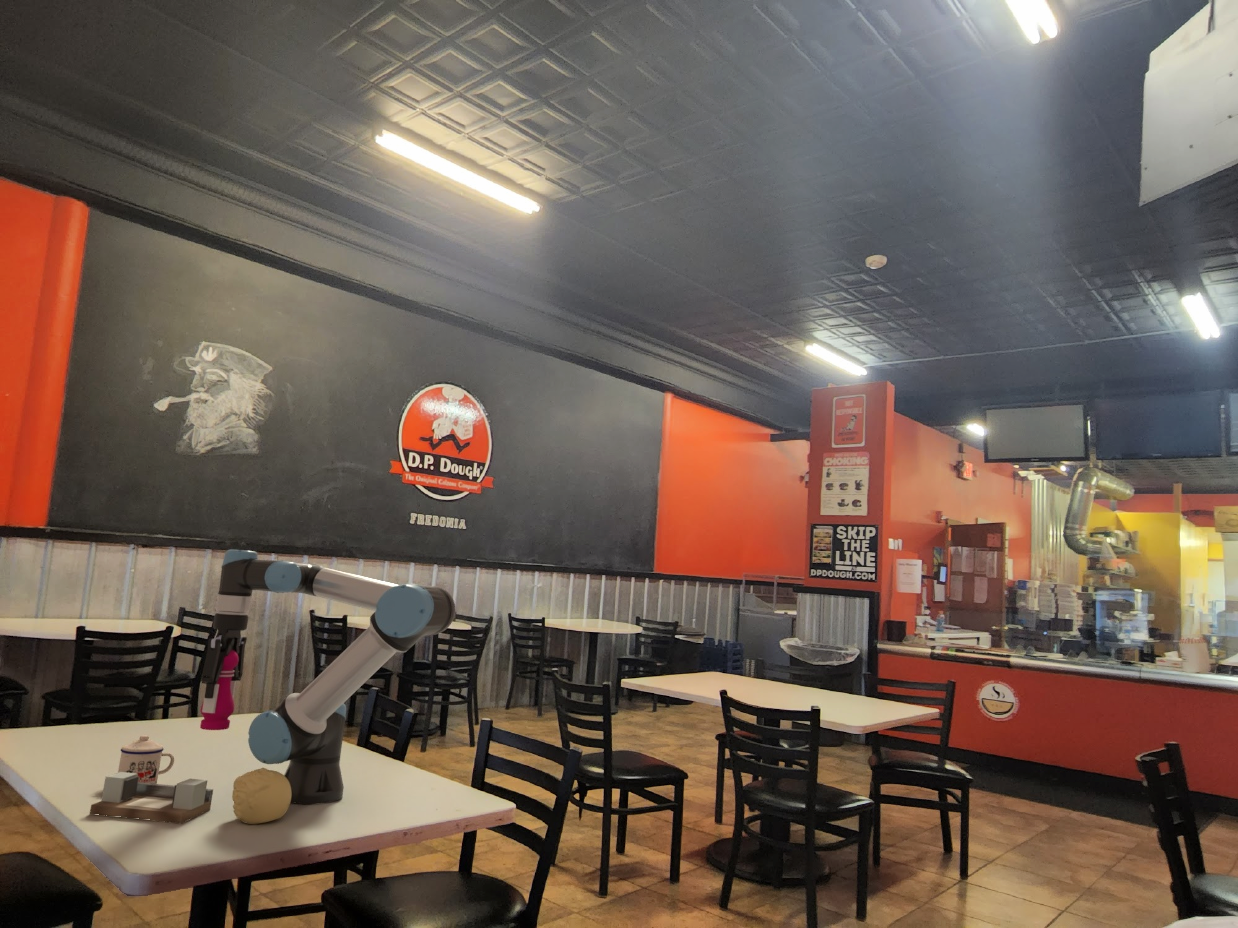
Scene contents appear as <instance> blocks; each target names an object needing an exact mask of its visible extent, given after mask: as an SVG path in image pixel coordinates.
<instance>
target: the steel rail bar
mask: <svg viewBox="0 0 1238 928" xmlns="http://www.w3.org/2000/svg"><path fill="white" fill-rule="evenodd" d="M174 789H175V785H174V784H173V785H171V784H161V783H157V784H152V783H142V782H138V784H137V790H136V795H143V796H153V797H163V798H173V795H174ZM213 793H214V788H213V789H211V788H206V793H205V800H204V802H209V801H211V802H212V799H213Z"/></svg>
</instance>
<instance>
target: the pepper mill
mask: <svg viewBox="0 0 1238 928" xmlns="http://www.w3.org/2000/svg"><path fill="white" fill-rule="evenodd" d="M238 661H239V658H238V654H237V653H236V652H235V651H233V650H230V653H229V655H228V656H226V657H225V658H224V664H223V667H222V670H221V673H220V676H219V679H218V682H217V684H219V689H218V695H217V702H216V708H215V713H205V712H202V709H203V702H204V700H203V701H202V703H201V706H200V714H201V716H202V717H203V719H201V720H200V729H201V730H207V731H222V730H223V731H224V730H228V729H229V728H230V726H231V725H230V723H231V720H230V719H229V718H230V717H231V715H232V714H233V713H234V711H235V701H234V700H233V698H232V694H231V688H230V686H231V679H232V676H234V672H235V671H234V670H233V669H234V667H235V666H236V665H237V664H238Z"/></svg>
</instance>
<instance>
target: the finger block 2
mask: <svg viewBox="0 0 1238 928" xmlns="http://www.w3.org/2000/svg"><path fill="white" fill-rule="evenodd" d="M174 786H175V789H174V795H173V801H172V805H173V808H177V809H188V810H192V809H194V808H196V807H198V806H201V805H203V804H204V800H205V793H206V789H207V786H208V779H198V778H197V779H196V778H188V779H184V780H183V781H180V782H177V783H176V784H175V785H174Z"/></svg>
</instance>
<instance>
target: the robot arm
mask: <svg viewBox="0 0 1238 928" xmlns="http://www.w3.org/2000/svg"><path fill="white" fill-rule="evenodd" d="M223 556H224V557H223V560H222V565H221V567H220V568H221V571H220V572H221V573H220V580H219V590H218V594H217V595H218V596H217V598H216V600H215V601H216V607H215V610H216V611H217V613H216V612H215V614H214V616H213V617H214V618H213V623H212V627H213V629H214V630H217V632H216V633H217V634H216V635H215V638H209V639H208V640H207V650H206V651H207V652H206V656H205V660H204V664H203V669H202V673H201V678H200V681H201V684H205V690H204V691H205V692H204V696H203V697H204V698H203V701H204V702H203V701H202V703H203V709H202V712H205V713H215V708H216V702H217V695H218V689H219V684H217V682H218V679H219V676H220V673H221V670H222V667H223V664H224V658H225V657H226V656H228V655H229V653H230V650H233V651H235V652H236V653H237V654H238V658H239V661H238V664H237V665H236V666H235V667H234V669H233V670H234V671H235V672H234V676H232V679H231V686H230V688H231V694H232V698H233V701H234V698H235V692H236V685H237V681H238V682H241V681H242V677H243V673H244V672H243V671H244V661H245V659H244V658H245V648H246V643H247V640H248V639H247V636H242V635H241V633H242V632H243V631H246V630H248V629H247V628H248V624H249V623H248V622H249V616H248V613H250V609H251V605H252V604H251V603H252V595H253V591H262V592H271V593H272V592H273V593H277V594H279V593H280V594H284V593H285V594H286V593H287V594H288V593H291V594H292V593H294V594H295V593H297V594H305V595H308V596H313V597H318V598H322V599H326V600H329V601H334V602H338V603H342V604H346V605H351V606H354V607H358V608H362V609H367V610H369V611H370V610H371V611H374V612H373V613H371V615H370V618H369V627H367V628H366V629H365V630H364V631H363V632H362V633H361V634H360V635H359V636H358V637H357V638H356V639H355V640H354V641H353V642H352V643H351V644H350V645H349V646H348V647H346V649H345V650H343V652H341V653H340V654H339V655H338V656H337V657H336V658H335V659H334V660H333V661H332V662H331V663H330V664H329V665H328V666H327V667H326V668H325V669H324V670H323V671H322V672H320V673H319V674H318V676H317V677H316V678H314V680H313V681H311V682H310V683H309V684H308V685H307V686H306V687H305V688H304V689H303V690H301V692H300V693H299V692H294V693H290V694H289V695H287V696H286V698H285V699H283V700H282V701H281V702H280V703H279V704H278V705H277V706H276V707H274V709H272V710H266V711H264V712H261V713H260V714H257V715H256V717H255V718H254V719H253V720H252V721H251V723H250V725H249V727H248V732H247V734H248V739H247V742H248V743H247V744H248V748H249V749H250V752H251V753H252V755H253V757H254V758H255V759H256V760H257V761H259V762H260V763H262V764H265V765H279V764H283V763H284V762H288V761H289V763H288V766H287V768H286V771H284V772H285V773H284V774H283V775H284V776H285V777H286V778H287V779H288V781H289V783H290V786H291V791H292V796H291V802H290V804H301V805H318V804H326V803H333V802H337V801H339V800H341V799H342V798H343V795H344V783H343V777H342V776H343V775H342V771H341V766H340V764H341V763H340V761H341V754H342V748H343V747H342V745H343V739H344V732H345V726H346V725H345V724H346V720H347V714H346V713H347V706H346V704H345V703H346V701H348V699H349V698H350V697H351V696H353V695H354V694H355V692H357V691H358V690H359V689H360V688H361V686H363V685H364V684H365V683H366V682H367V681H368V680H369V679H370V678H371V677H372V676H373V675H374V674H375V673H377V671H378V670H380V668H381V667H383V665H385V664H386V663H387V662H388V661H389V660H390V659H391V658H392V657H393V656H395V654H396V653H406V652H407V651H410V649H411V648H412V647H413V646H414V645H415V644H416V643H417V642H418V641H419V640H420V639H422V638H423V637H424V636H425V637H426V636H434V635H438V634H439V635H440V633H443V632H444V631H446V630H447V629H448V628H449V627H450V626H451V624H452V623H453V621H454V619H455V617H456V603H455V600H454V598H453V597H452V595H451V594H450V593H449V592H448V591H447V590H446V589H444V588H442V587H440V586H435V585H421V584H417V583H404V584H396V583H392V582H389V581H383V580H379V579H374V578H370V577H367V576H362V575H359V574H354V573H350V572H343V571H340V570H336V569H332V568H328V567H324V566H323V565H319V564H317V563H316V564H315V563H299V562H294V561H288V560H272V559H271V560H269V559H267V560H265V559H259V558H258V552H257V551H255V550H253V551H252V550H244V549H227V550H226V551H225V553H224V555H223ZM241 631H242V632H241Z"/></svg>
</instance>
